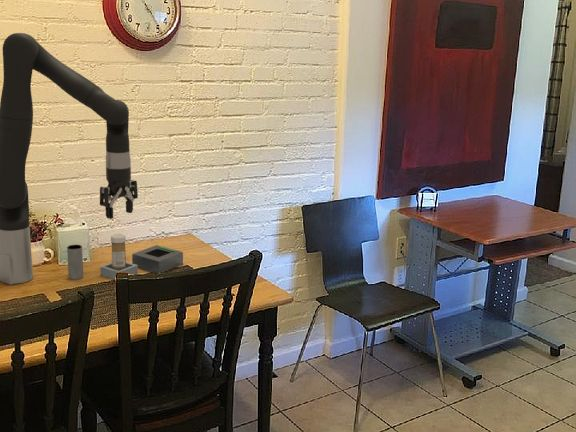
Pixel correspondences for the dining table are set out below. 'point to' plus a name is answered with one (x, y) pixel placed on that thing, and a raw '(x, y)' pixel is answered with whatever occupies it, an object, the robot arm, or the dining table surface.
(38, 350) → the dining table surface
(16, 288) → the dining table surface
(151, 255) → the port block
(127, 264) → the blue-grey square tray
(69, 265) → the gray cylinder
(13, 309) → the dining table surface
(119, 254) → the sprinkles bottle
